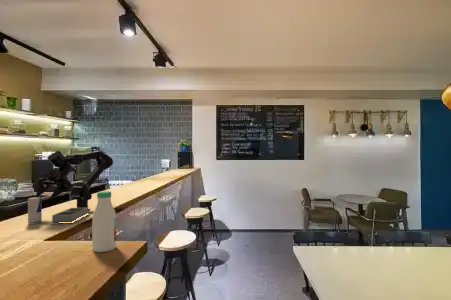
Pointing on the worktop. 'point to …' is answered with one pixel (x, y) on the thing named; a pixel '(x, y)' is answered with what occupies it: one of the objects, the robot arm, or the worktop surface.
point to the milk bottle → (104, 224)
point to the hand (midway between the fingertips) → (43, 197)
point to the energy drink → (34, 210)
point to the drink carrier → (69, 215)
